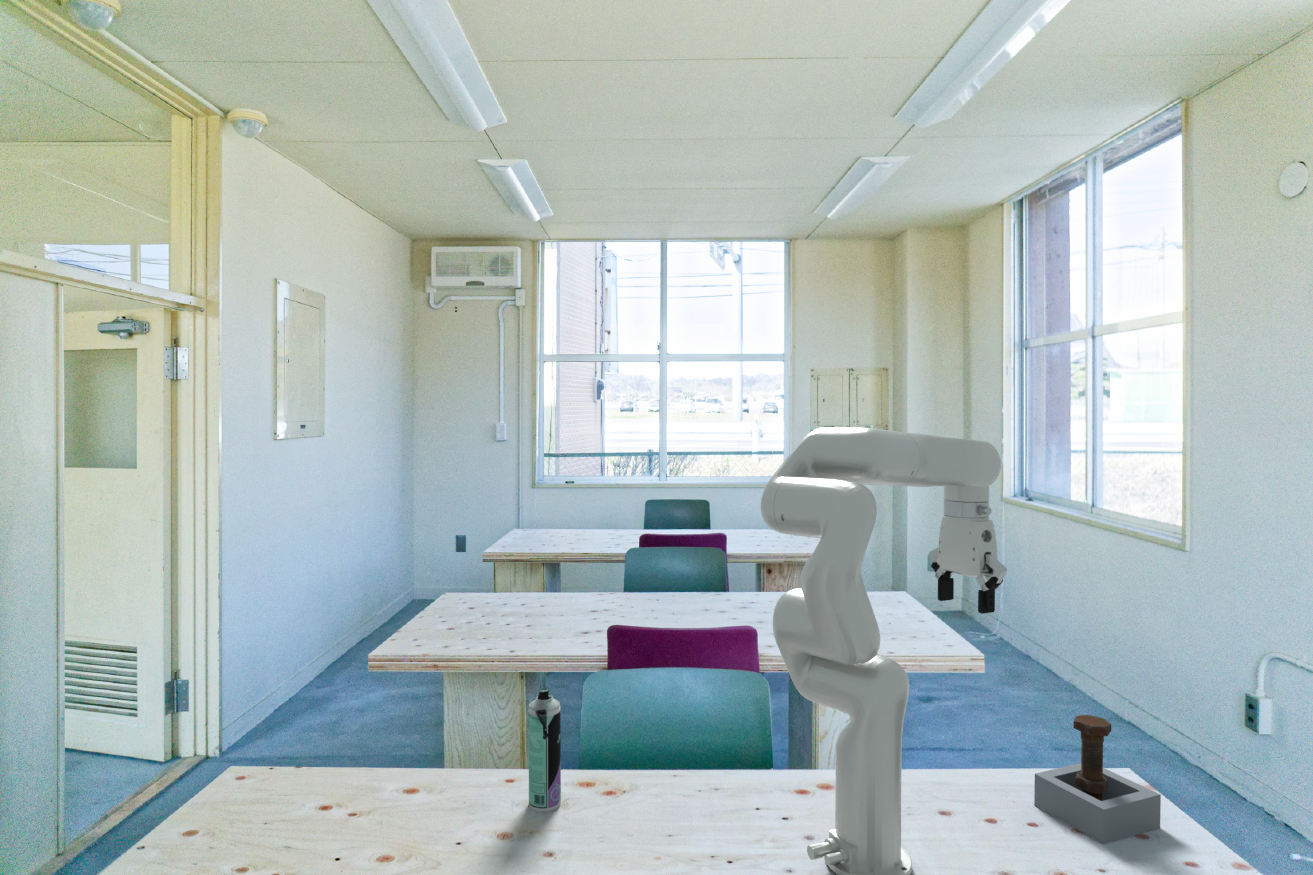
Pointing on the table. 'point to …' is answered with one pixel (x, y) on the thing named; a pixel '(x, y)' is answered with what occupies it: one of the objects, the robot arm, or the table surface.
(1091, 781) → the bolt
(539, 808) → the spray can
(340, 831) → the table surface
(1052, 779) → the socket block
